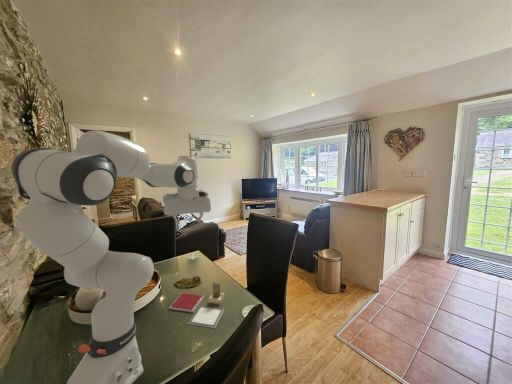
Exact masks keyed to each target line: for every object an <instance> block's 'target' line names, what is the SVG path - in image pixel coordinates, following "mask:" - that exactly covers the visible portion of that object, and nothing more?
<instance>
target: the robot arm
mask: <svg viewBox="0 0 512 384" xmlns="http://www.w3.org/2000/svg"><path fill="white" fill-rule="evenodd" d="M11 174H12V177H13V179H14V181H15V183H16V184H17V189H18V194H19V195H20V196H21V197H22V198H24V199H27V200H30V201H29V203H28V204H26V205H25V206H24V207H23V208H22V209H20V211H19V212H18V214H17V216H16V219H15V222H16V227H17V229H18V230H19V231H20V232H21V234H22V235H23V236H24V237H25V239H26V240H28V241H29V242H30V243H31V244H32V245H33V246H34V247H35V248H37V249H38V250H39V251H41V253H43V254H45V255H46V256H47V257H49V258H51V259H52V260H53V261H56V262H57V263H58V264H60V265H61V266H63V267H64V270H63V277H64V280H65V282H66V283H67V284H69V285H72V286H75V287H78V288H82V289H86V290H87V289H89V290H99V291H100V290H103V291H104V292H105V297H104V298H102V299H101V300H99V301H98V302H97V303H96V304H95V305H94V307H93V308H92V311H91V314H90V317H91V321H90V322H91V331H92V332H91V335H90V339H89V342H88V344H86V343H82V344H81V345H79V348H78V353H83V354H84V356H83V357H82V359H81V360H80V362H79V364H78V365H77V366H76V367H75V369H74V371H73V373H72V374H71V375H70V377H69V378H68V380H67V382H66V384H133V383H134V382H135V381H136V380H137V379H138V378H139V377H140V376H141V375H142V374H143V373H144V367H143V364H142V355H141V353H140V351H139V346H138V342H137V338H136V334H137V324H136V319H135V316H134V315H135V312H134V311H135V310H134V308H135V299H136V296H137V295H138V294H139V292H140V291H141V290H142V289H143V288H145V287H146V286H147V285H148V284H149V283H150V281H151V280H152V279H153V276H154V270H155V267H154V262H153V260H152V258H151V257H150V256H146V255H143V254H140V253H136V252H124V251H123V252H120V251H113V250H109V246H110V238H109V237H108V235H107V234H106V233H105V232H104V231H103V230H102V229H101V228H100V227H99V226H98V224H96V223H95V222H94V221H93V220H92V219H91V218H90V217H89V216H88V215H87V214H85V211H84V210H83V207H82V206H86V207H87V206H97V205H100V204H103V203H104V202H106V201H108V199H109V198H110V197H111V195H112V194H113V193H114V190H115V187H116V185H117V181H118V179H117V177H119V178H126V179H138V180H140V181H143V182H144V183H145V184H146V185H147V186H149V187H151V188H175V189H176V190H177V192H176V193H175V192H174V193H166V194H164V195H163V196H162V203H163V204H164V206H163V214H164V215H165V216H172V217H173V219H174V221H175V225H180V219H179V218H177V215H187V214H199V217H196V222H197V223H201V222H202V218H203V216H204V213H209V212H211V210H212V205H211V199H210V197H209V193H208V192H207V191H206V190H203V189H200V188H199V184H198V177H199V175H198V165H197V160H196V158H194V157H193V156H189V155H188V156H187V155H180V156H178V158H177V160H176V161H175V162H173V163H157V162H151V158H150V153H149V152H148V150H147V149H146V148H145V147H143V146H142V145H140V144H138V143H136V142H135V141H133V140H130V139H128V138H125V137H123V136H120V135H118V134H114V133H110V132H107V131H104V130H103V131H102V130H87V131H86V132H84V133H83V134H81V135H80V137H79V138H78V139H77V141H76V144H75V148H74V149H73V150H71V151H65V150H59V149H53V148H48V147H47V148H46V147H40V148H39V147H37V148H30V149H27V150H24V151H22V152H20V153H19V154H17V155H16V156H15V158H14V159H13V161H12V163H11Z"/></svg>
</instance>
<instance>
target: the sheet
mask: <svg viewBox="0 0 512 384" xmlns="http://www.w3.org/2000/svg"><path fill="white" fill-rule="evenodd" d="M196 309H197V310H195V311H194V314H193V315H192V316H191V318H190V320H189V321H188V322H187V325H193V326H198V327H199V326H200V327H205V328H212V329H215V328H216V327H217V325H218V323H219V322H220V319H221V317H222V315H223V312H224V310H225V308H223V307H214V306H208V305H200V304H199V305H198V307H197V308H196Z"/></svg>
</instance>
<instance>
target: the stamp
mask: <svg viewBox="0 0 512 384" xmlns="http://www.w3.org/2000/svg"><path fill="white" fill-rule="evenodd" d="M224 299H225V292H221V281H215V282H213V283H212V293H211V294H210V296H209V297H208V304H214V305H221V304H222V302H223V301H224Z"/></svg>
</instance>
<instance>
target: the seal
mask: <svg viewBox="0 0 512 384" xmlns="http://www.w3.org/2000/svg"><path fill="white" fill-rule="evenodd" d="M202 283H203V281H202V280H201V277H200V276H193V277H192V278H190V277H189V278H181V279H180V280H176V281H175V282H174V285H175V286H176V288H178V289H191V288H196V287H198V286H200V285H201V284H202Z"/></svg>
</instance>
